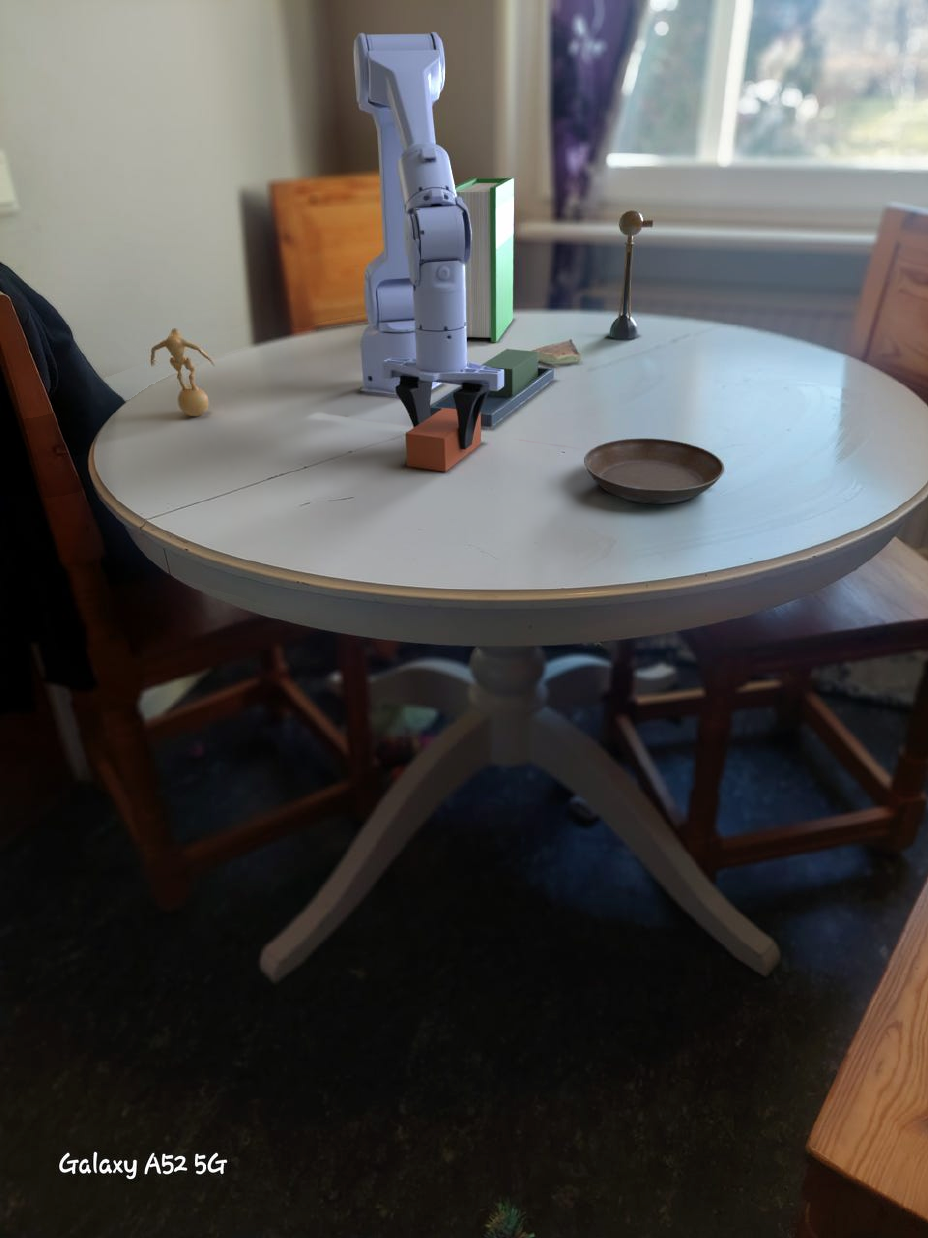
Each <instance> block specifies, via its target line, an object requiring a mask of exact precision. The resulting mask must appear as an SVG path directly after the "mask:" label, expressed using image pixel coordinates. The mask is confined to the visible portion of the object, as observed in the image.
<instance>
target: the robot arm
mask: <svg viewBox="0 0 928 1238" xmlns="http://www.w3.org/2000/svg"><path fill="white" fill-rule="evenodd" d="M353 68H354V78H355V79H354V80H355V95H356V102H357V103H358V109H359V110H360V111H362V112H365V113H367V114H370V115H372V118H373V120H374V121H373V122H374V124H375V127H376V132H377V151H378V152H377V153H378V171H379V187H380V188H379V189H380V191H379V192H380V205H381V206H380V209H381V226H382V227H381V228H382V229H381V231H382V246H383V247H382V248H383V250H382V252H381V253H380V254H378V255H377V256H376V257H375V258H374V259H372V261H370V263H368V264H367V265H366V266H365V270H364V284H363V285H364V286H363V298H364V306H365V314H366V320H367V322H368V324H370V325H368V326H366V327H365V329H364V330H363V332H362V335H361V338H360V360H361V372H362V382H363V383H362V386H363V387H361V388H360V391H361V392H366V393H373V394H374V393H375V394H382V395H390V396H397V397H398V398H399V400H400V401H401V403H402V404H403V406H404V409H405V410H406V412H407V414H408V416H409V419H410V422H411V424H412V428H414V427H416V426H417V425H419V424H420V423H422V422H423V421H425V420H426V419H428V418H429V417H430V405H431V400H432V391H433V390H434V389H435V388H437V387H438V386H440V385H441V384H448V385H457V386H461V385H462V389H461V388H460V389H459V390H457V391H456V392H454V393H453V398H454V401H455V405H456V410H457V416H458V425H459V444H460V449H467V448H468V447H469V446H471V445H472V441H473V435H474V430H475V426H476V422H477V419H478V416H479V413H480V411H481V408H482V406H483V404H484V401H485V399H486V397H487V395H488V393H489V392H490V390H491V391H498V390H499V389H501V388H502V387H504V369H496V368H491V367H486V366H482V364H478V363H475V362H470V361H468V346H467V345H468V344H467V342H468V341H467V338H468V337H466V288H465V265H464V264H463V263H462V262H463V260H464V262H465V263H468V262H469V259H470V255H471V243H472V234H471V224H470V218H469V213H468V209H467V207H466V205H465V204H464V203H463V201H462V198H461V197H457V195H456V190H455V186H456V185H455V181H454V180H455V179H454V176H453V171H452V166H451V161H450V156H449V154H448V152H447V151H446V149H444V148H443V147H442V146H440V145H439V144H436V143H437V141H436V134H435V125H434V114H433V106H434V104H435V103H436V101H438V100H439V98H440V93H441V92H442V91H443V89H444V85H445V78H446V77H445V74H446V62H445V50H444V45H443V41H442V39H441V37H440V36H439V34H438V33H437V32H436V31H430V32H429V33H385V34H384V33H379V34H378V33H376V34H375V33H373V34H365V33H364V32H359V33H358V34H357V36H356V37H355V39H354V41H353Z"/></svg>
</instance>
